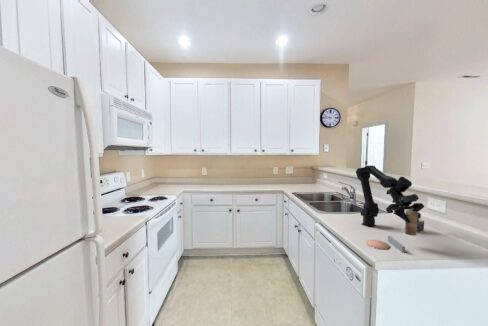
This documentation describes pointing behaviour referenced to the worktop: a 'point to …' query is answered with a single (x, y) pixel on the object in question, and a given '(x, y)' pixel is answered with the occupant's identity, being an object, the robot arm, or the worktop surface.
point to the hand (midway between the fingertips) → (413, 222)
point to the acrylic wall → (396, 244)
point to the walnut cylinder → (411, 223)
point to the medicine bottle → (420, 224)
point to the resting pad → (377, 244)
